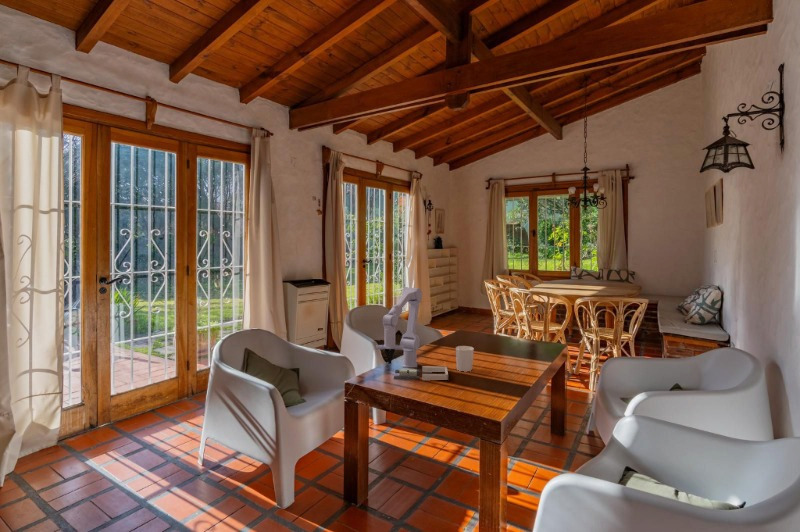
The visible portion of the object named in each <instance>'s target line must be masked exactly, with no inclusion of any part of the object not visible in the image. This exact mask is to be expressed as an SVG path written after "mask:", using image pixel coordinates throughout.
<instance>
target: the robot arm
mask: <svg viewBox="0 0 800 532" xmlns="http://www.w3.org/2000/svg"><path fill="white" fill-rule="evenodd" d="M422 297H423V291H422V290H421V288H420V287H407V286H405V287H403V289H402V290H401V296H400V298H399V300H398V302H397V304H393V305H392V307H391V309H390V310H389V311H388V313H387V314H385V315H383V317H382V321H381V322H382V325H383V329H384V331H383V333H384V339H383V340H384V344H376V345H375V350H384V353H385V356H386V359H387V363H388V364H391V365H392V360H393V357H394V354H395V352H396V350H397V351H398V350H400V351H403V361H402V362H403V363H402V368H418V361H417V351H418V350H419V349H420V346H421V345H420V344H421V342H420V341H421V339H420V336H419V335H418V334H417V324H418V319H419V318H418V315H419V308H420V304H421V303H422ZM407 303H408V304H409V311H408V316H407V317H408V319H407V326H406V332H405V333H403V334H402V335H401V339H400V344H399V345H398V344H396V326H397V325H398V323H399V318H400V316H401V315H402V313H403V310H404V309H403V308H404V307H405V305H407Z"/></svg>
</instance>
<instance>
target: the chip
mask: <svg viewBox="0 0 800 532" xmlns="http://www.w3.org/2000/svg"><path fill="white" fill-rule="evenodd" d="M408 370H409V373H408V376H418V373H417V370H418V369H417V368H416V369H415V368H412V369H411V368H410V369H408Z"/></svg>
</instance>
